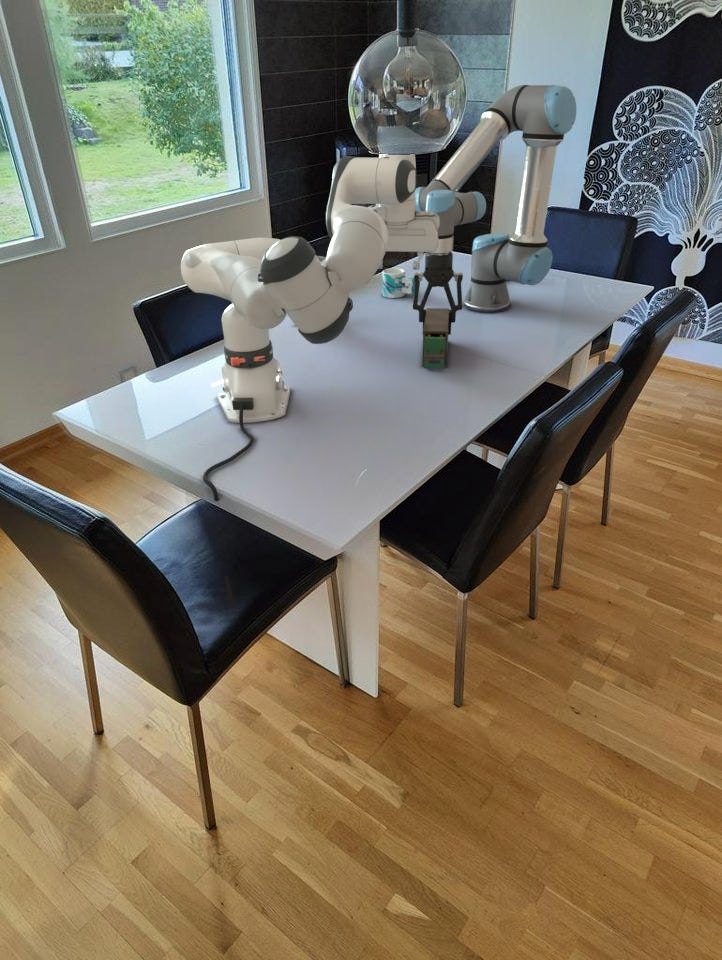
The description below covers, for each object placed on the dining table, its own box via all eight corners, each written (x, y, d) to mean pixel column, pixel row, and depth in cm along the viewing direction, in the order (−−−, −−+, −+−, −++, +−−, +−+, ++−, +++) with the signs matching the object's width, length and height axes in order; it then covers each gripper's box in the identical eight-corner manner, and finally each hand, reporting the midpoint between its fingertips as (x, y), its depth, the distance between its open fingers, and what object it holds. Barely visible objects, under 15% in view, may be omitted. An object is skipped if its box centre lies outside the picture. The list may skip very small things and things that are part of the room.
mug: (390, 289, 246) (390, 266, 241) (419, 294, 240) (419, 270, 235) (378, 296, 240) (378, 272, 235) (407, 300, 234) (407, 277, 230)
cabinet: (446, 367, 186) (447, 331, 180) (422, 366, 187) (423, 331, 181) (448, 341, 201) (449, 308, 196) (425, 341, 202) (426, 308, 196)
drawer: (443, 376, 179) (444, 345, 174) (423, 375, 179) (423, 345, 175) (445, 344, 197) (446, 315, 193) (427, 343, 198) (427, 315, 194)
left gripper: (441, 208, 163) (440, 266, 171) (359, 208, 167) (361, 264, 175) (438, 214, 158) (437, 273, 165) (354, 213, 162) (356, 271, 169)
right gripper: (475, 248, 185) (470, 328, 197) (404, 248, 187) (404, 327, 200) (475, 255, 179) (470, 338, 191) (402, 255, 181) (402, 337, 194)
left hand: (397, 268), depth 170 cm, fingers open, 8 cm apart
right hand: (436, 332), depth 195 cm, fingers closed on cabinet, 7 cm apart
